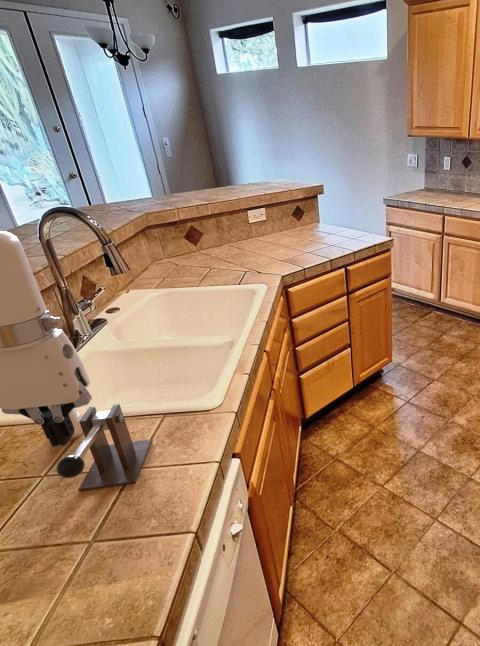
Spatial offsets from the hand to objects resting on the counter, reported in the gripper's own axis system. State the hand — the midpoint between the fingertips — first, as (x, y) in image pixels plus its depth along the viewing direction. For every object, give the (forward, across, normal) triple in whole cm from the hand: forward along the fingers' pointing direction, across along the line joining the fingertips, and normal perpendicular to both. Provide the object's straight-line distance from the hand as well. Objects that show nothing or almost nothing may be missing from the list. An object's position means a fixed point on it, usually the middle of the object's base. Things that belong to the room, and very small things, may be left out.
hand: (63, 439), depth 64 cm
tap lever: (+7, 0, -6) cm, 9 cm away
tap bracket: (+16, 0, -12) cm, 21 cm away
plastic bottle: (+17, +13, -24) cm, 32 cm away
